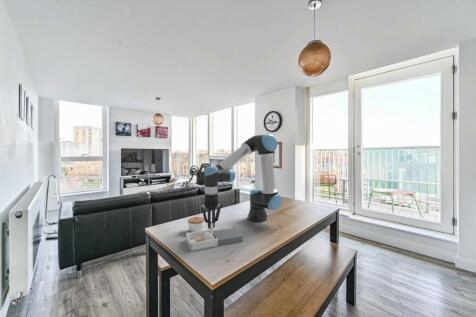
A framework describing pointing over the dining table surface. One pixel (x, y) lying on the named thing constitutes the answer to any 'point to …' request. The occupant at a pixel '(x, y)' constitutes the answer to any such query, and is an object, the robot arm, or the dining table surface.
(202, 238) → the tile
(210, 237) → the tile
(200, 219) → the lidded jar
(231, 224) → the dining table surface
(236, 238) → the board
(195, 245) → the tray
